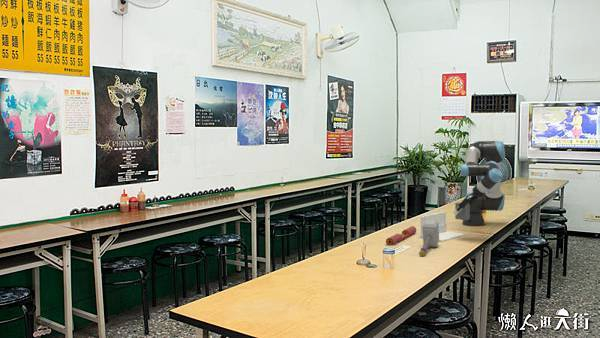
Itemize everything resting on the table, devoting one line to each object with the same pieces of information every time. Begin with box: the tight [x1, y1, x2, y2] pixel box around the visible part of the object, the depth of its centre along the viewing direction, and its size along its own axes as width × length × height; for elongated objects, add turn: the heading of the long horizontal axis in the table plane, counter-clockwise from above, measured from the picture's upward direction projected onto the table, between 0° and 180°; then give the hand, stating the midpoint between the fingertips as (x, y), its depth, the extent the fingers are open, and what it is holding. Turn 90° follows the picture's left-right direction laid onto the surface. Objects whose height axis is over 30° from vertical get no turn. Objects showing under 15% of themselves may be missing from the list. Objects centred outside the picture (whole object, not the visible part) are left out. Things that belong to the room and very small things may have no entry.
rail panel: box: [420, 211, 466, 243], centre depth 336 cm, size 26×16×14 cm, turn 131°
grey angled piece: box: [418, 220, 440, 257], centre depth 299 cm, size 15×8×30 cm
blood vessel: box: [385, 225, 417, 247], centre depth 333 cm, size 42×5×5 cm, turn 149°
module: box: [454, 201, 470, 221], centre depth 325 cm, size 5×7×11 cm
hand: (457, 213), depth 328 cm, fingers closed on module, 5 cm apart
